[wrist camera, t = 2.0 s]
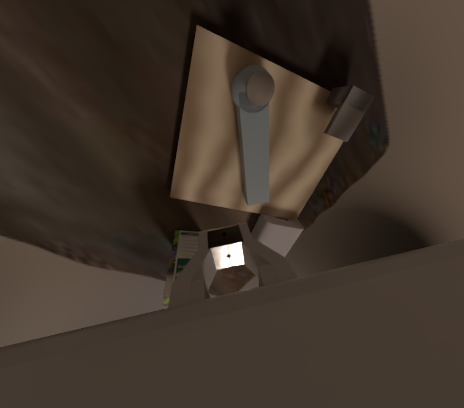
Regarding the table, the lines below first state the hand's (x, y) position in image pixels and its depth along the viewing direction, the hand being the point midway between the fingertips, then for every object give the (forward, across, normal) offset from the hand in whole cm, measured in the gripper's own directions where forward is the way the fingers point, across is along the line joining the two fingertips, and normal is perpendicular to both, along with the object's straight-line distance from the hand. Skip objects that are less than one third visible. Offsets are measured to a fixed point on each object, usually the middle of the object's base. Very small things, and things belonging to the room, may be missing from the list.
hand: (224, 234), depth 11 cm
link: (+19, -7, 0) cm, 20 cm away
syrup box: (+21, +8, +18) cm, 29 cm away
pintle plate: (+21, -9, +1) cm, 23 cm away
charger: (+21, -10, +23) cm, 33 cm away
